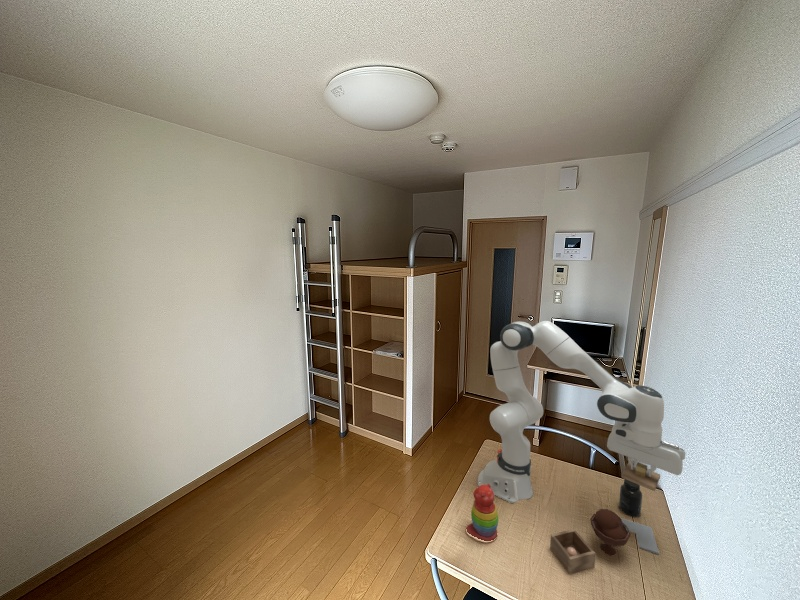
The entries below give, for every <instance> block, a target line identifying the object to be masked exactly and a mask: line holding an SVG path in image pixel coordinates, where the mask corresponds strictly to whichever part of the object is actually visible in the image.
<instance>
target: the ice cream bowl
mask: <svg viewBox="0 0 800 600" xmlns="http://www.w3.org/2000/svg"><path fill="white" fill-rule="evenodd" d="M621 518H622V517H620V515H618V514H617V513H616V512H614V511H613V510H611V509H609V508H608V509H607V508H600V509H598V510H597V511H596V512H595V513H593V515H592V516H591V517H590V524H591V528H592V531H593V532H594V534H595V536H596V537H597V538H598V539H599V540H600V541H602V543H600V545H599V547H600V550H601V551H602V552H603V553H604V554H605V555H608V556H610V557H611V556H616V554H617V551H616V549H615V548H614V547H623V546H625V545H626V544H627V543H628V541H629V538H630V537H631V532H630V531H629V530H628V528H627V526H626V525H625V524H624V523H623V522H622V520H621Z"/></svg>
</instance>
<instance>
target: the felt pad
mask: <svg viewBox="0 0 800 600" xmlns="http://www.w3.org/2000/svg"><path fill="white" fill-rule="evenodd" d="M620 518H621V520H622V522H623V523H624V524H625V525H626V526H627V528H628V530H629V532H630V533H634V534H635V536H636V541H637V544H638V548H639V549H641V550H643V551H646V552H651V553H653V554H656V555H660V551H659V548H658V544H657V541H656V539H655V538H656V537H655V535H654V532H653V531H654V530H653V529H652V526H648V525H645V524H642V523H638V522H634V521H632V520H629V519H626V518H622V517H620Z"/></svg>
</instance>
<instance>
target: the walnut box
mask: <svg viewBox="0 0 800 600" xmlns="http://www.w3.org/2000/svg"><path fill="white" fill-rule="evenodd" d="M568 547H572V548H574V549H575V550H576V552H577V555H575V556H570V555H569V554H568V552H567V551H566V550H567V548H568ZM549 549H550V550H551V552H552V553H553V554H554V556H555V557H556V558H557V559H558V561H559V562H560V563H561V564H562V566H563V567H564V569H565V571H566V572H567V573H568V574H569V575H572V574H576V573H580V572H583V571H587V570H591V569H594V568H595V565H596V564H595V563H596V552H595V551H594V550H593V549H592V548H591V546H590V545H589V544H588V543H587V542H586V540H584V538H583V537H582V536H581V535H580V534H579V533H578V532H577V531H576V529H575V528H572V529H568V530H564V531H563V530H562V531H560V532H556V533H551V534H550V545H549Z"/></svg>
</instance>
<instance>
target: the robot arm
mask: <svg viewBox="0 0 800 600" xmlns="http://www.w3.org/2000/svg"><path fill="white" fill-rule="evenodd" d="M499 339H500V341H495V342H494V343H493V344H491V346H490V351H489V353H490V363H491V368H492V373H493V377H494V381H495V386H496V388H497V390H499V391H500V392H501V393H505V395H506V396H507V399H508V402H506V403H503V404H501V405H498V406H497V407H496V408H494V409H493V410H492V411H491V412H490V414H489V422H490V425H491V427H492V428H493V430H494V432H496V433H497V434H499V436H500V438H501V448H498V450H497V454H496V459H494V460H490V461H489V462H487V464H486V465H485V468H483V469H482V470H481V471H480V473H479V474H478V477H477V486H480V485H487V484H490V486H491V489H492V490H493V492H494V495H496V496H498V497H497V498H499V497H500V498H499V499H501V498H502V499H501V500H503V499H504V500H503V501H505V500H506V501H505V502H507V501H508V502H507V503H509V502H510V504H511V503H513V504H512V505H514V504H515V502H518V501H520V500H521V501H523V500H530V499H531V498H532V497H533V494H534V490H533V486H532V481H531V473H532V460H531V442H530V440H529V439H528V438H527V436H525V435H524V434H523V432H524V429H525V428H527V427H530V426H532V425H533V424H536V423H537V422H538V421H540V419H541V418H543V415H544V407H543V405H542V403H541V402H540V400H539V399H537V397H535V396H533V395H532V394H531V393H530V391H529V390H528V388H527V387H526V384H525V381H524V377H523V374H522V369H521V366H520V363H519V357H518V353H519V351H521V350H523V349H526V348H529V347H531V346H536V347H537V348H538V349H540V351H542V353H544V354H545V356H546V357H547V358H548V359H549V360H550V361H551V362H552V363H553V364H554V365H556V366H557V367H559V368H562V369H566V370H568V369H571V370H577V371H579V372H581V373H582V374H585V376H586V377H588V378H589V380H590V381H592V382H593V383H594V384H596V385H597V386H598V387H599V388H600V389H601V394H600V396H599V398H598V399H597V401H596V407H597V409H598V411H599V413H600V414H601V415H602V416H603V417H605V418H606V419H608V420H610V421H615V423H614V424H613V426H612V429H611V432H610V434H609V435H608V438H607V441H606V446H607V449H608V450H609V451H611V452H614V453H616V454H620V455H622V456H625V457H627V461H628V462H629V463H630V464H631V470H634V471H636V465H637V463H635V462H634V460H635V461H638V462H639V463H642V464H645V465H647V466H648V465H649V466H650V468H647V469H646V474H645V475H647V476H649V477H651V476H652V472H655V471H656V470H657V469H659V470H662V471H664V472H668V473H669V474H671V475H672V474H673V475H674V476H680V475H681V474H682V472H683V468H684V467H683V460H685V458H686V451H685V450H684V449H683V448H682V447H680V445H677V444H674V443H671V442H669V441H665V440H662V438H663V437H662V436H663V427H662V422H664V419H665V418H664V415H665V402H664V397H663V396H662V394H661V393H660V392H659V391H657V390H656V389H655V388H653V387H649V386H648V385H647V386H646V385H639V384H638V385H635V386H633V387H632V386H631V385H630V384H628V383H626V382H625V381H623V380H620V379H618V378H617V377H615V376H614V375H612V374H611V373H610V372H609V371H608V370H607V369H605V368H604V366H602V365H601V364H599V362H597V361H596V360H595V359H594V358H593V357H591V355H589V354H588V353H587V352H586V351H585V350H584V349H582V347H580V346H579V345H578V344H577V343H576V342H575V340H574V339H572V338H571V337H570V336H569V335H568V334H567V333H566V332H565V331H564V330H562V328H560V327H559V326H557V325H556V324H554V323H553V322H552V321H549V320H542V321H539V322H537V323H536V324H535V325H532V323H530V322H529V321H528V322H527V321H523V320H519V321H513V322H511V323H509V324H506V325H505V326H504V327H503V328H502V329H501V331H500V335H499ZM479 482H481V483H479ZM496 496H495V497H496Z"/></svg>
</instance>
